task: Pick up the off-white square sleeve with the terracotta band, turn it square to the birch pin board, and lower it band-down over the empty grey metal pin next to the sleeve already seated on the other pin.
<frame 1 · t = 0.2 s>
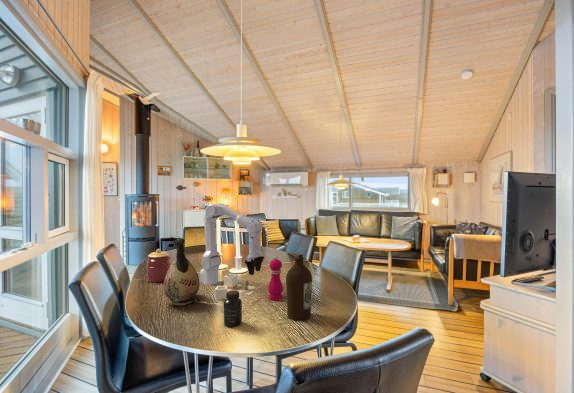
hand: (254, 272, 147), 10 cm above the table, tool pointing down, fingers open, 7 cm apart
sleeve: (221, 300, 136), on the table
canister: (158, 279, 170), on the table
pin board: (237, 291, 149), on the table
seated sleeve: (230, 287, 151), point 1 cm above the table, touching pin board
ceramic jug: (182, 303, 133), on the table
olive oil: (299, 316, 119), on the table
supplement bottle: (232, 324, 112), on the table
pepper mill: (275, 298, 139), on the table
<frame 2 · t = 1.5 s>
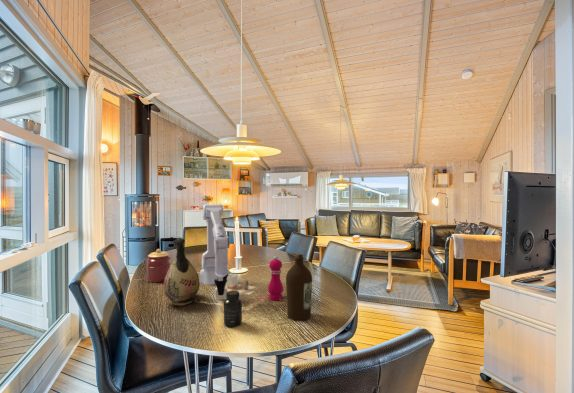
hand: (221, 292, 136), 4 cm above the table, tool pointing down, fingers open, 7 cm apart
nothing on the table moved.
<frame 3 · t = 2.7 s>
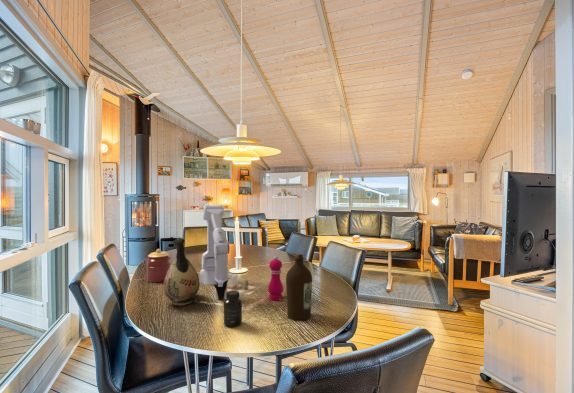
hand: (221, 297, 136), 1 cm above the table, tool pointing down, fingers closed on sleeve, 5 cm apart
sleeve: (221, 300, 136), on the table, touching gripper
everything else where it was.
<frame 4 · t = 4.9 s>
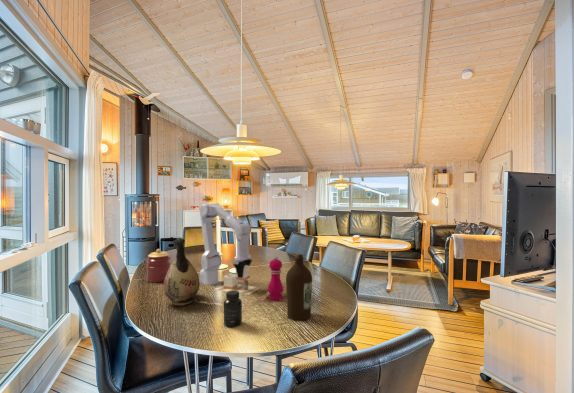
hand: (242, 275, 146), 9 cm above the table, tool pointing down, fingers closed on sleeve, 5 cm apart
sleeve: (242, 278, 146), point 7 cm above the table, touching gripper
everything else where it was.
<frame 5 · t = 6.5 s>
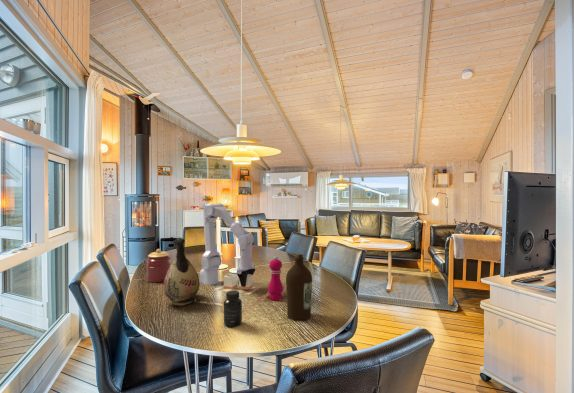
hand: (246, 284, 147), 4 cm above the table, tool pointing down, fingers closed on sleeve, 5 cm apart
sleeve: (246, 287, 147), point 2 cm above the table, touching gripper
everything else where it was.
when the fingers open (4 cm above the table, at t = 7.5 s): sleeve stays where it is, resting on pin board.
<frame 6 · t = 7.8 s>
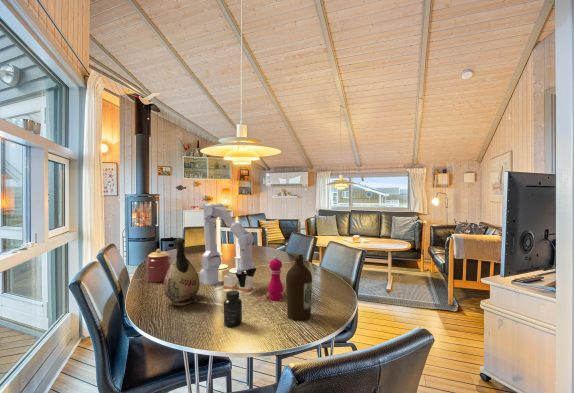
hand: (246, 284, 147), 4 cm above the table, tool pointing down, fingers open, 7 cm apart
sleeve: (246, 289, 147), point 1 cm above the table, touching pin board
everything else where it was.
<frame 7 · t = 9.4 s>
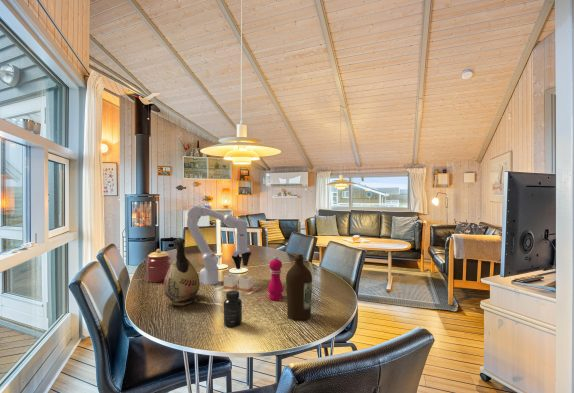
hand: (241, 267, 161), 9 cm above the table, tool pointing down, fingers open, 7 cm apart
nothing on the table moved.
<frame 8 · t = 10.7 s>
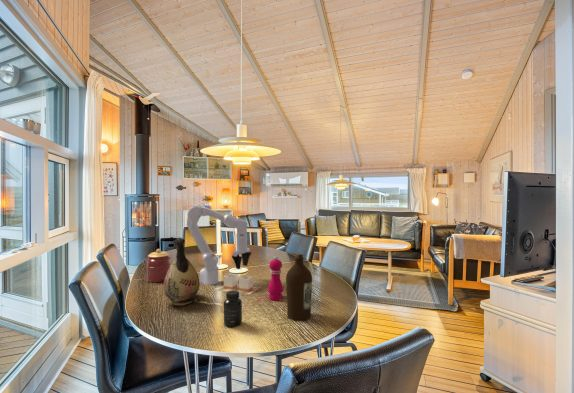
hand: (241, 267, 161), 9 cm above the table, tool pointing down, fingers open, 7 cm apart
nothing on the table moved.
at the end: sleeve 0.1 cm from the target spot on the pin board, point 1.5 cm above the pin board's base; sleeve tilted 0°; the gripper is holding nothing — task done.
